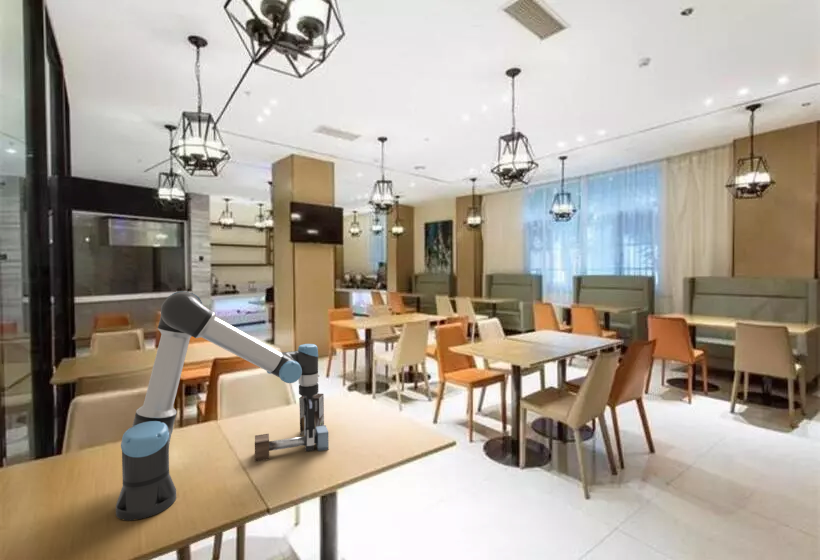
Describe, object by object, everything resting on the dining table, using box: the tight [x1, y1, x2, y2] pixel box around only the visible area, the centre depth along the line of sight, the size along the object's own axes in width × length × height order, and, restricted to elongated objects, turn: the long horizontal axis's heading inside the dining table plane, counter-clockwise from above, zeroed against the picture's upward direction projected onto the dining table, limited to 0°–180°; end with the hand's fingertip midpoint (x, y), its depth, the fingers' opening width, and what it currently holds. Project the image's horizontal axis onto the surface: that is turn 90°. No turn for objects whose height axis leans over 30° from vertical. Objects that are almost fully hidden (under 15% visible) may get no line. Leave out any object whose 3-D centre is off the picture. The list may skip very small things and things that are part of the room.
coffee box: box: [298, 393, 325, 435], centre depth 169 cm, size 9×6×16 cm
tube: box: [269, 414, 318, 452], centre depth 151 cm, size 22×5×13 cm, turn 111°
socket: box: [315, 424, 330, 452], centre depth 155 cm, size 7×4×7 cm, turn 21°
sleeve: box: [254, 433, 270, 462], centre depth 147 cm, size 7×5×7 cm
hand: (309, 440), depth 153 cm, fingers open, 8 cm apart
